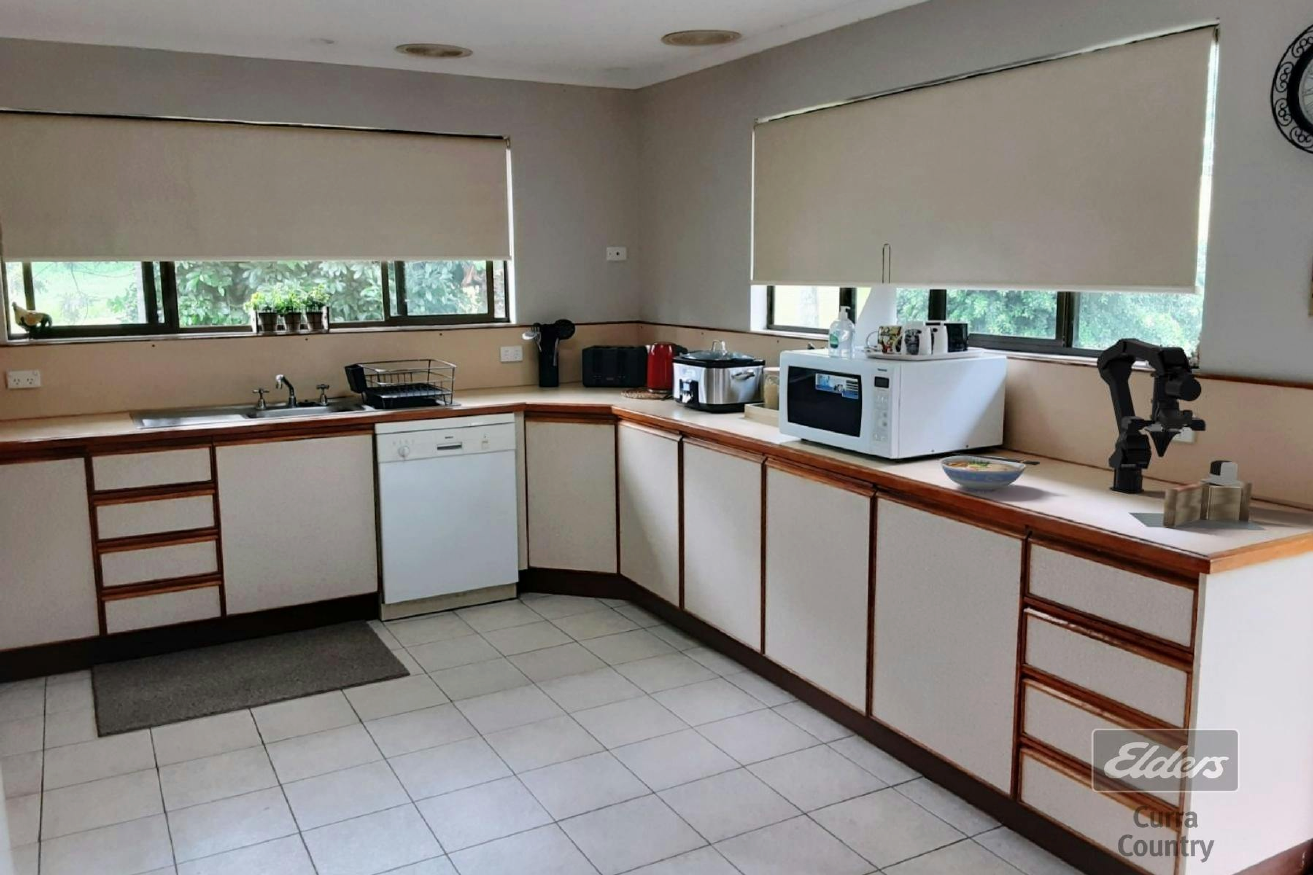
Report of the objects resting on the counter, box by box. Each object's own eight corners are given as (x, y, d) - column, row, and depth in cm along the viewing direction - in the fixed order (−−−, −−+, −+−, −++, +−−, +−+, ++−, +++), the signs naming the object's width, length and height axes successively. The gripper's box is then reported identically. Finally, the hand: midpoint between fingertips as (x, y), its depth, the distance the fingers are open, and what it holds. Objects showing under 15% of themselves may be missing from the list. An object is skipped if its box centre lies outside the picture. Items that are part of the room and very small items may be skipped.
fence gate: (1191, 517, 247) (1194, 482, 245) (1201, 519, 245) (1204, 484, 243) (1160, 525, 240) (1163, 489, 238) (1170, 527, 238) (1173, 490, 236)
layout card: (1147, 528, 240) (1147, 526, 240) (1128, 514, 254) (1128, 512, 253) (1266, 531, 236) (1266, 529, 236) (1240, 516, 250) (1240, 514, 250)
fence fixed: (1197, 520, 246) (1200, 483, 244) (1193, 517, 248) (1196, 481, 246) (1250, 521, 244) (1253, 484, 243) (1245, 518, 246) (1249, 482, 245)
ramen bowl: (918, 488, 283) (919, 459, 282) (960, 476, 299) (962, 448, 298) (1003, 503, 266) (1005, 472, 264) (1043, 489, 281) (1045, 460, 280)
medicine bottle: (1197, 506, 261) (1201, 459, 259) (1218, 503, 264) (1222, 457, 262) (1221, 512, 255) (1226, 464, 253) (1243, 509, 257) (1247, 462, 255)
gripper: (1137, 400, 254) (1132, 462, 257) (1217, 401, 252) (1211, 463, 254) (1122, 394, 265) (1118, 454, 268) (1199, 395, 263) (1194, 455, 265)
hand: (1160, 456), depth 263 cm, fingers closed
